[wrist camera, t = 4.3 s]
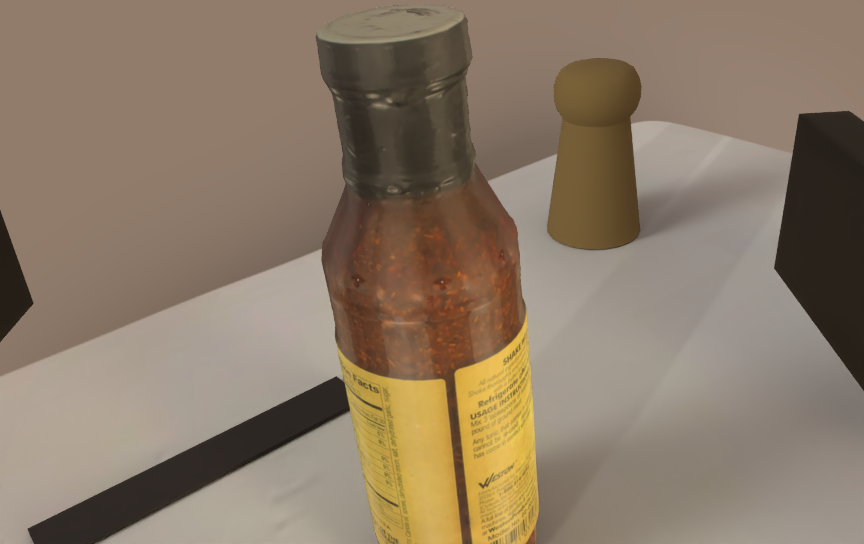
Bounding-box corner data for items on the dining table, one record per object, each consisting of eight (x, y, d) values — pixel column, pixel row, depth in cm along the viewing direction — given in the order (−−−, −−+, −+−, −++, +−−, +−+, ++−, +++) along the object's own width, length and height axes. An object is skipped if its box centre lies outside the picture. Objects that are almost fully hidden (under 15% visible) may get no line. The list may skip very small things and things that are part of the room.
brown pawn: (638, 252, 50) (649, 76, 45) (541, 246, 51) (540, 77, 46) (641, 210, 55) (651, 48, 50) (552, 207, 57) (552, 49, 51)
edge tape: (337, 379, 41) (336, 376, 41) (364, 402, 39) (364, 398, 39) (28, 532, 33) (27, 528, 33) (45, 569, 31) (43, 565, 31)
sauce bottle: (520, 475, 34) (507, -18, 24) (558, 599, 28) (561, 28, 19) (365, 497, 33) (289, 4, 24) (373, 627, 28) (279, 57, 18)
